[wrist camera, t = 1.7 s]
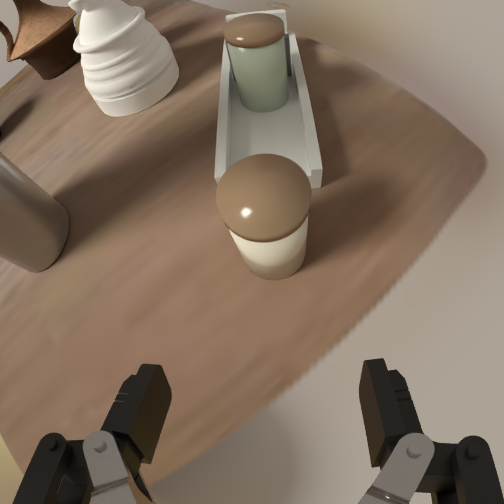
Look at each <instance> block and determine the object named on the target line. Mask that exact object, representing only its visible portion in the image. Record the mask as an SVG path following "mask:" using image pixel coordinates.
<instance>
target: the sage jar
mask: <svg viewBox="0 0 504 504" xmlns="http://www.w3.org/2000/svg"><path fill="white" fill-rule="evenodd" d="M223 33H224V37H225V41H226V42H227V45H228V50H229V54H230V58H231V62H232V66H233V71H234V75H235V79H236V83H237V88H238V92H239V96H240V101H241V103H242V105H243V106H244V107H245V108H246V109H248V110H250V111H253V112H260V113H264V112H271V111H274V110H277V109H279V108H281V107H282V106H284V105H285V104H286V102H287V101H288V98H289V92H288V78H287V65H286V52H285V41H284V34H285V29H284V22H283V20H282V19H281V18H280V17H278V16H275V15H272V14H266V13H253V14H246V15H242V16H239V17H236V18H234V19H232V20H230V21H229V22H227V23H226V24H225V26H224V27H223Z"/></svg>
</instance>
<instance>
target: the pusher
mask: <svg viewBox="0 0 504 504" xmlns="http://www.w3.org/2000/svg"><path fill="white" fill-rule="evenodd" d="M284 41H285V52H286V65H287V76H292V71H291V55H290V40H289V34H284ZM225 44H226V48H227V52H228V56H229V61H230V65H231V69H232V73H233V78H234V81H236V79H235V75H234V71H233V66H232V62H231V58H230V54H229V50H228V45H227V42H226V41H225Z"/></svg>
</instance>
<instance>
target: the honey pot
mask: <svg viewBox="0 0 504 504" xmlns="http://www.w3.org/2000/svg"><path fill="white" fill-rule="evenodd" d="M68 5H69V6H70V8H72V9H73V10H75V11H82V10H83V11H82V14H81V18H80V27H79V35H78V36H77V38H76V39H75V41H74V43H73V49H74V50H75V51H76V52H77V53H81V57H82V58H81V66H82V67H83V74H84V76H85V78H84V80H85V85H86V88H87V89H88V90H89V92H90V94H91V95H92V97H93V98H94V100H95V101H96V103H97V104H98V106H99V107H100V109H101V110H102V111H103V112H104V113H105V114H107V115H109V116H113V117H122V116H128V115H132V114H135V113H138V112H141V111H143V110H145V109H147V108H149V107H151V106H152V105H154V104H155V103H157V102H158V101H160V100H161V99H162V98H164V97H165V96H166V95H167V94H168V93H169V92H170V91H171V90H172V88H173V87H174V86H175V84H176V83H177V80H178V77H179V68H178V65H177V62H176V60H175V57H174V54H173V52H172V49H171V48H170V44H169V42H168V41H167V40H166V38H165V37H164V36H162V35H160V33H159V32H158V30H156V29H155V27H154V26H153V24H152V23H149V22H148V21H147V20H146V19H144V17H145V11H144V10H143V8H141V7H138V6H129V5H127V4H126V3H124V2H123V1H121V0H71V1H70V2H69V3H68Z"/></svg>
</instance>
